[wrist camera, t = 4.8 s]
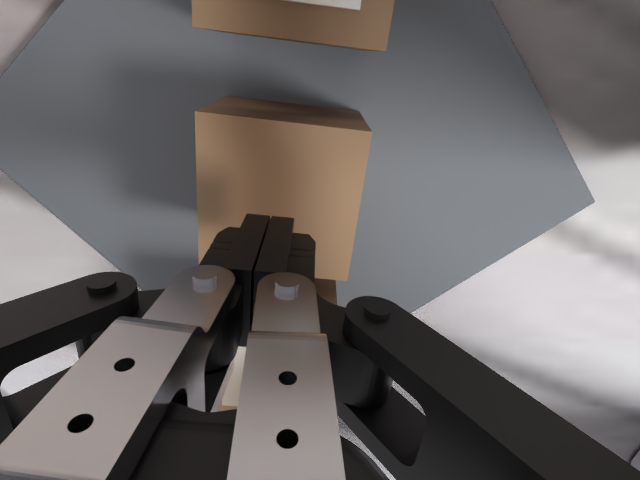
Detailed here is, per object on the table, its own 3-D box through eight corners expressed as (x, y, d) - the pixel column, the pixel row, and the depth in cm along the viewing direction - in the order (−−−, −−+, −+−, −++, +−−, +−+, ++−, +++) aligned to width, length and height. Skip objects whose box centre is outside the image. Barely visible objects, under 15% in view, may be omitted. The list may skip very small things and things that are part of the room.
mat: (587, 197, 20) (595, 201, 20) (271, 390, 26) (270, 397, 26) (326, -302, 13) (326, -318, 12) (-35, 128, 19) (-45, 131, 18)
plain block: (359, 111, 18) (372, 132, 13) (341, 230, 20) (347, 281, 16) (226, 95, 17) (194, 111, 13) (225, 218, 20) (198, 266, 16)
